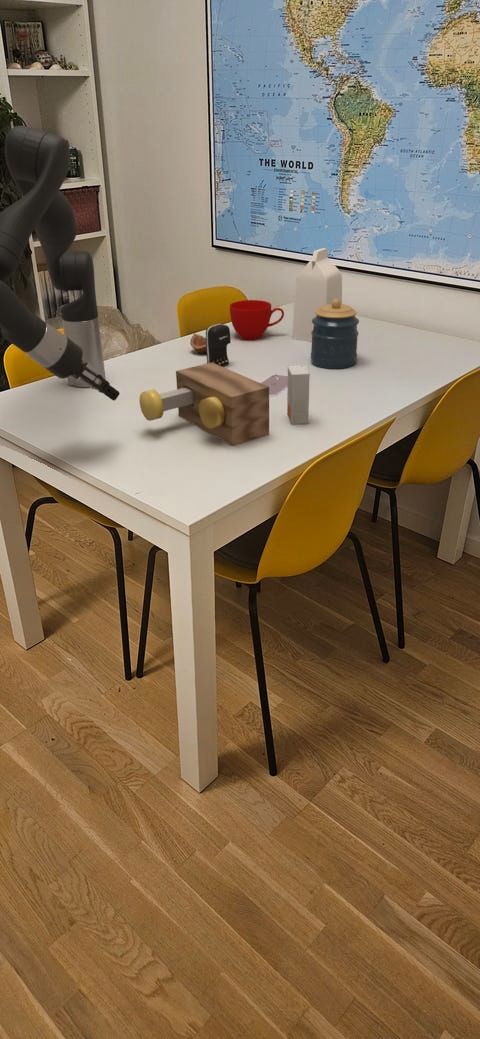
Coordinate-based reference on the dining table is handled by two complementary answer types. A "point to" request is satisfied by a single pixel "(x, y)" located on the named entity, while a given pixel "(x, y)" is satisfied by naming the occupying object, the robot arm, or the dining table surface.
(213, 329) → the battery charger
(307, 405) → the skincare box
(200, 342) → the broken brown shell
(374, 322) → the dining table surface
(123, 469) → the dining table surface
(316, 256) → the milk
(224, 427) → the block
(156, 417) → the knob
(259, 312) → the ceramic cup
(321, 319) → the canister
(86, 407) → the dining table surface
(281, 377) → the mobile phone
